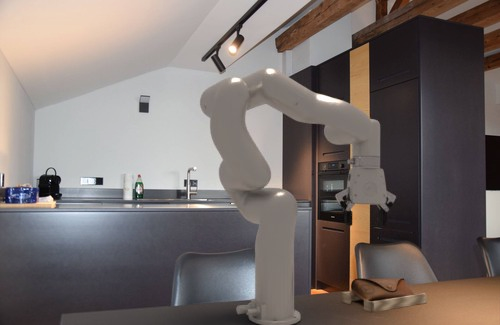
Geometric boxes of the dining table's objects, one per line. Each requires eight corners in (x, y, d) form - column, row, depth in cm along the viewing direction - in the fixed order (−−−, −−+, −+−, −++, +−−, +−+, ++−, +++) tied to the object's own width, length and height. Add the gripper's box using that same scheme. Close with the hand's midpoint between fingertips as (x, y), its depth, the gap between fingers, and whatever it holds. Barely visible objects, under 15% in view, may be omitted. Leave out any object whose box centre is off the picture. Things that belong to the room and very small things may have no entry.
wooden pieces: (371, 312, 111) (371, 302, 111) (342, 301, 121) (342, 292, 122) (426, 302, 120) (426, 293, 121) (394, 293, 131) (394, 285, 131)
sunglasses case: (366, 301, 116) (362, 275, 118) (352, 303, 122) (349, 279, 124) (421, 299, 121) (416, 275, 124) (405, 302, 128) (400, 279, 130)
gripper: (341, 162, 115) (340, 226, 114) (401, 164, 118) (401, 227, 117) (331, 163, 122) (331, 224, 121) (388, 165, 125) (388, 224, 124)
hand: (365, 225), depth 119 cm, fingers open, 9 cm apart
